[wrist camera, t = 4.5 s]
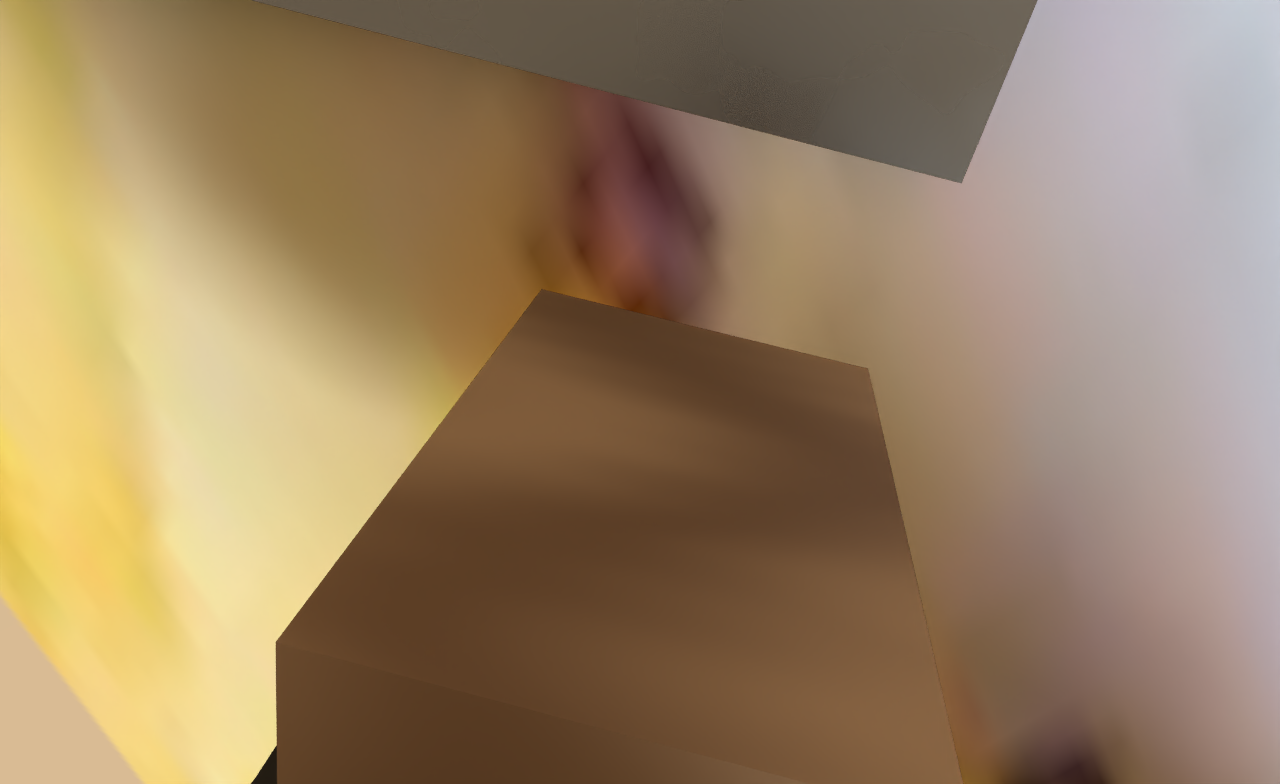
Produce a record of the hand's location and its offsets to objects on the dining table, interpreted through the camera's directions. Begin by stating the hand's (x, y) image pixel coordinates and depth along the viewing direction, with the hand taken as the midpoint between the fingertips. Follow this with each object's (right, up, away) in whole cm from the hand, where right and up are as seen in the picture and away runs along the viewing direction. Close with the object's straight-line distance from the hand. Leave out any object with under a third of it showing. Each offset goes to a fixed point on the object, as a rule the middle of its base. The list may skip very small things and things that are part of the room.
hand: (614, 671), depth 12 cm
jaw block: (0, 0, +1) cm, 1 cm away
